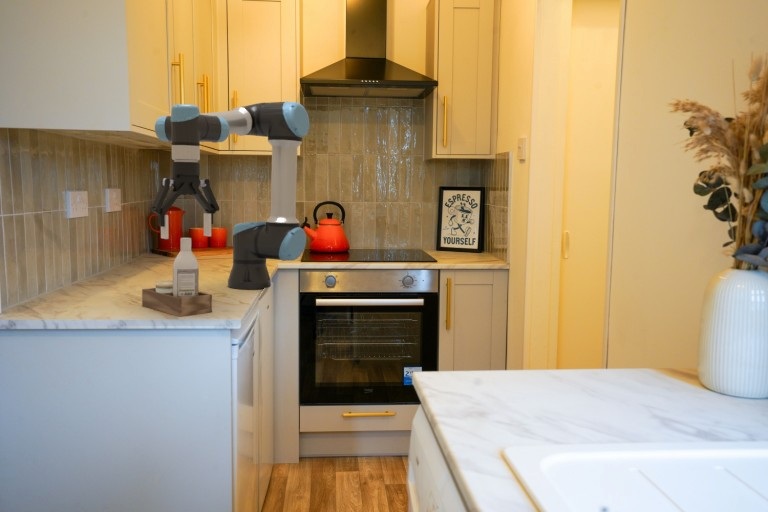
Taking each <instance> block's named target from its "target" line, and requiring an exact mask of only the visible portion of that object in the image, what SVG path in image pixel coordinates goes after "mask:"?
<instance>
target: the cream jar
mask: <svg viewBox="0 0 768 512" xmlns="http://www.w3.org/2000/svg"><path fill="white" fill-rule="evenodd" d="M154 285H155V286H154V288H156V292H158V293H169V292H173V280H159V281H155V283H154Z"/></svg>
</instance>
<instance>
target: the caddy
mask: <svg viewBox="0 0 768 512" xmlns="http://www.w3.org/2000/svg"><path fill="white" fill-rule="evenodd" d="M141 299H142V300H141V301H142V303H141V306H142V307H145V308H149V309H150V310H151V309H152V310H155V311H158V312H161V313H166V314H169V315H173V316H175V317H186V316H192V315H201V314H207V313H212V312H213V295H212V294H211V293H207V292H206V293H205V292H202V291H198V296H193V297H184V298H178V297H174V296H173V292H169V293H158V292H156V287H152V288H149V287H148V288H142V290H141Z"/></svg>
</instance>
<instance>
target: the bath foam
mask: <svg viewBox="0 0 768 512" xmlns="http://www.w3.org/2000/svg"><path fill="white" fill-rule="evenodd" d="M172 265H173V266H172V281H173V296H174V297H178V298H184V297H193V296H198V292H199V279H200V278H199V275H200V274H199V263H198V259H197V257H196V256H195V254H194V253H193V251H192V237H180V251H179V253H178V254H177V256H176V257H175V259H174V261H173V263H172Z"/></svg>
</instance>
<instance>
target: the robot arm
mask: <svg viewBox="0 0 768 512" xmlns="http://www.w3.org/2000/svg"><path fill="white" fill-rule="evenodd" d="M170 114H171V115H166V116H165V115H164V116H160V117H158V118H157V119H156V121H155V123H154V133H155V135H156V137H157V138H158V139H159V140H160V141H161V142H168V143H171V160H173V161H172V163H171V175H172V178H171V179H170V178H165V177H164V178H161V183H160V184H161V185H160V188H159V190H158V192H157V194H156V197H155V199H154V201H153V204H152V207H151V208H150V211H151V213H154V214H156V215H157V226H158V227H160V239H164V240H169V237H170V236H169V234H170V233H169V215H168V214H167V212H168V211H169V210H170V208H171V207H172V206H173V204H174V203H175V201H176V200H177V199H178V197H181V196H187V195H188V196H193V197H194V198H195V199H196V201H197V202H198V203H199V204H200V206H201V207H202V208H203V210H204V211H205V212H206V213H205V212H204V213H203V236H205V237H212V225H214V215H215V214H216V212H219V211H220V207H219V204H218V202H217V199H216V197H215V196H214V193H213V190H212V188H211V181H210V179H208V178H202V179H200V175H201V174H200V173H201V164H200V163H199V161H201V149H200V148H201V146H200V144H201V143H202V142H203V143H204V142H205V143H206V142H207V143H208V142H209V143H215V144H217V143H223V142H225V141H226V140H227V138H229V136H230V135H234V134H235V135H237V136H242V137H243V136H255V137H267V142H268V143H269V144H270V145H271V146H272V147H271V177H270V178H271V181H270V183H271V185H270V216H269V217H268V218H267V220H265V221H252V222H249V221H248V222H241V223H239V222H238V223H237V224H235V225H234V226H233V232H232V233H233V234H232V267H231V269H230V273H229V277H228V279H227V287H228V288H231V289H236V290H237V289H238V290H261V289H262V290H263V289H267V288H270V287H271V284H272V283H271V281H272V280H271V277H270V273H269V270H268V267H267V260H275V261H277V260H278V261H283V262H287V261H288V262H289V261H295V260H297V259H299V258H300V257H301V256H302V254H303V253H304V250H305V247H306V246H307V245H306V244H307V234H306V231H305V230H304V229H303V228H302V227H301V226H300V225H301V223H300V221H299V219H297V217H296V215H297V214H296V212H297V211H296V209H297V208H296V206H297V176H298V175H297V174H298V173H297V172H298V149H299V146H300V145H302V144H303V138H304V137H306V136H307V135H308V133H309V132H310V131H309V130H310V126H311V125H310V117H309V115H308V112H307V110H306V108H305V107H304V106H303V105H302V104H301V103H299V102H297V101H296V102H295V101H277V102H276V101H275V102H272V101H271V102H259V103H258V102H257V103H254V104H249V105H245V106H244V105H243V106H238V107H234V108H233V109H232V110H226V111H225V110H224V111H215V112H202V113H201V111H200V107H199V106H198V105H194V104H182V103H180V104H179V103H178V104H174V105H172V106H171V113H170ZM171 186H172V187H173V188H172V189H171V191H170V192H169V190H170V188H171ZM199 187H201V188H202V191H203V192H202V191H201V189H200V188H199ZM168 192H169V195H168ZM203 193H204V195H203ZM167 195H168V196H167Z"/></svg>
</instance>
